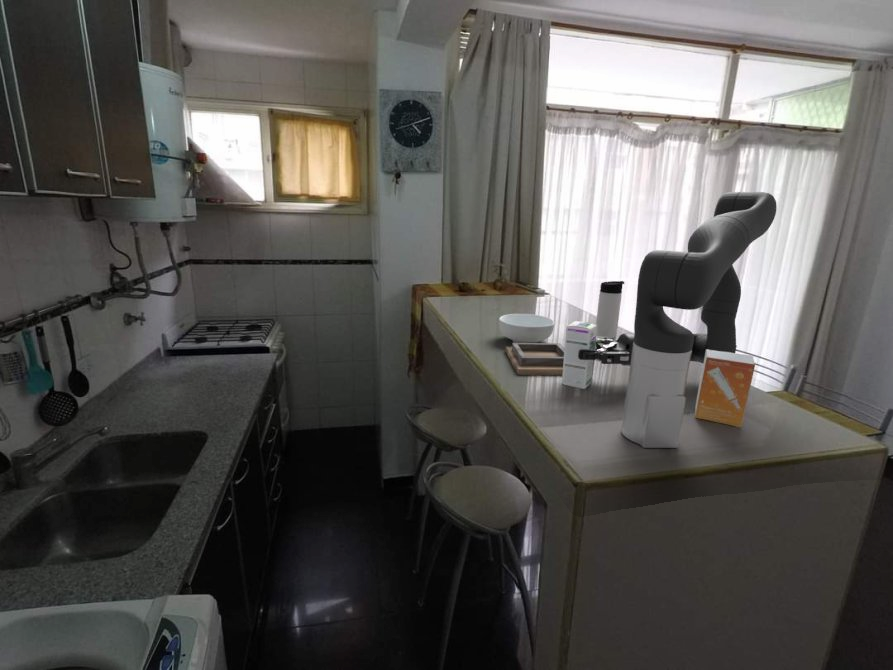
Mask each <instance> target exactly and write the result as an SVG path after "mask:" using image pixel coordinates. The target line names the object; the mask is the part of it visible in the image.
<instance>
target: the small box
mask: <svg viewBox="0 0 893 670" xmlns="http://www.w3.org/2000/svg"><path fill="white" fill-rule="evenodd" d="M755 368H756V363H755V360H754V356H753V355H749V354H740V353H736V352H735V353H731V352H722V351H714V350H708V349H706V352H705V358H704V363H703V364H702V368H701V374H700V378H699V379H700V380H699V384H698V385H699V386H698V389H697V395H696V401H695V408H694V409H695V411H694V418H695V419H699V420H700V419H701V420H705V421H710V422H715V423H720V424H724V425H729V426H733V427H737V428H742V425H743V421H744V416H745V412H746V409H747V408H746V407H747V405H748V404H747V403H748V399H749V395H750V390H751V385H752V381H753V379H754V378H753V377H754V373H755Z"/></svg>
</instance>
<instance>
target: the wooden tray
mask: <svg viewBox="0 0 893 670" xmlns="http://www.w3.org/2000/svg"><path fill="white" fill-rule="evenodd" d="M511 344H512V345H511V346H505V353H506V355H507V356H508V359H509V361H510V363H511V365H512V366H513V368H514V370H515V372H516V374H517V375H518V376H520V375H521V376H523V375H524V376H527V375H529V376H534V375H535V376H562V374H563V361H564V348H565V346H563V345H562V344H561V343H557V342H555V343H553V342H545V343H544V342H542V343H541V342H537V343H516V342H512V343H511Z"/></svg>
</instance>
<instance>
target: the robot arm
mask: <svg viewBox="0 0 893 670" xmlns="http://www.w3.org/2000/svg"><path fill="white" fill-rule="evenodd" d="M777 207H778V206H777V200H776V199H775V196H773V195H772V194H771V193H769V192H764V191H729V192H725V193H723V194H721V196H720V197H719V198H718V200H717V203H716V204H715V209H714V211H713V217H710V218H709V219H708V220H706V221H704V222H703V223H702V224H701V225H700V226H698V227H697V228H696V229H695V230H694V232H693V233H692V234H691V235H690V237H689V240H688V241H687V251H677V250H676V251H675V250H661V249H660V250H658V249H655V250H651V251H648V253H646V255H645V256H644V258H643V260H642V262H641V264H640V269H639V273H638V279H637V288H636V289H637V290H636V302H635V303H636V304H635V305H636V306H635V315H634V321H633V323H634V329H633V330H634V331H633V332H634V333H621V334H620V335H619V336H618V338H617V339H616V341H613V340H612V339H608V337H606V336H604V337H600V336H596V346H595V350H587V349H580V350H579V352H578V358H579V359H580V360H594V361H596V362H601V364H603V365H621V366H625V367H627V366H629V372H628V377H627V378H628V379H627V384H626V385H627V386H626V387H627V388H626V394H625V400H624V409H623V413H622V414H623V415H622V424H621V430H620V431H621V433H622V435H623V436H624V437H625V438H626V439H628V440H630V441H631V442H632V443H633V442H634V443H636V444H638V445H640V447H642V448H643V449H644V448H646V449H647V448H648V449H650V448H651V449H653V448H655V449H663V448H664V449H665V448H666V449H667V448H670V449H674V448H675V449H676V448H679V447H678V446H679V441H680V436H681V430H682V423H683V418H684V413H685V407H686V400H687V399H686V398H687V397H686V396H685V391H686V386H687V379H688V376H689V375H688V374H689V369H690V363H691V362H697V363H700V364H702V365H703V363H704V358H705V352H706V349H708V350H714V351H722V352H731V353H736V351H737V329H736V317H737V314H738V311H739V306H740V301H741V297H742V288H741V287H742V285H741V282H740V280H739V277H738V274H737V273H736V270H735V268H734V266H733V264H734V263H735V262H737V261H738V259H740V257H741V256H742V255H743V254H744V253H745V251H746V250H747V249H748V247H749V246H750V245H751V244H752V243H753V242H755V241H756V240H757V239H759V238H760V237H762V236H763V235H764V234H766V232H767V231H769V229H770V228H771V226H772V224H773V221H774V220H775V218H776V215H777ZM664 307H665V308H672V309H677V310H678V309H679V310H686V311H687V310H688V311H689V310H691V311H692V310H697V309H700V308H701V312H700V319H701V322H702V323H703V324H704V325H705V326H706V333H693V332H692V331H691V330H690V329H688V327H687V328H686V327H685V326H683V325H681V324H679V323H678V322H675V320H673V319H672V318H670V316H668V314H667V313H666V312H665V309H664Z"/></svg>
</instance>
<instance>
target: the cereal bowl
mask: <svg viewBox="0 0 893 670" xmlns="http://www.w3.org/2000/svg"><path fill="white" fill-rule="evenodd" d="M498 327H499V330H500V332H501V334H502V335H503V336H504V337H505V338H507V339H509V340H511V341H512V342H513V343H541V342H544V341H545V340H547V339H549V337H551V336H552V334H553V331H554V330H555V329H554V328H555V321H554V320H553V319H552V318H549V317H547V316H543V315H538V314H532V313H509V314H505V315H501V316H500V317H499V318H498Z"/></svg>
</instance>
